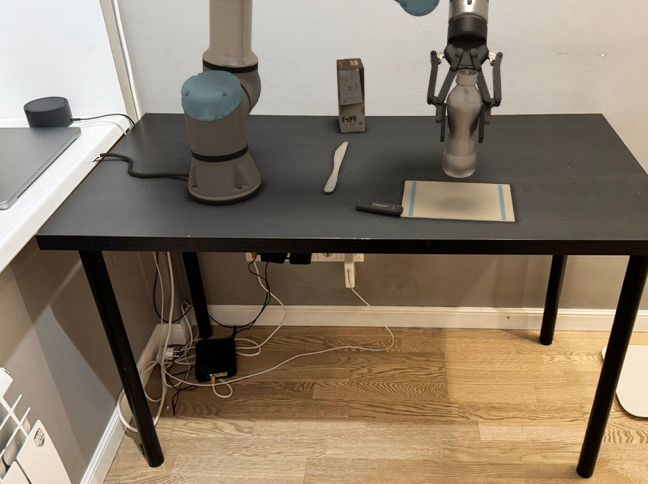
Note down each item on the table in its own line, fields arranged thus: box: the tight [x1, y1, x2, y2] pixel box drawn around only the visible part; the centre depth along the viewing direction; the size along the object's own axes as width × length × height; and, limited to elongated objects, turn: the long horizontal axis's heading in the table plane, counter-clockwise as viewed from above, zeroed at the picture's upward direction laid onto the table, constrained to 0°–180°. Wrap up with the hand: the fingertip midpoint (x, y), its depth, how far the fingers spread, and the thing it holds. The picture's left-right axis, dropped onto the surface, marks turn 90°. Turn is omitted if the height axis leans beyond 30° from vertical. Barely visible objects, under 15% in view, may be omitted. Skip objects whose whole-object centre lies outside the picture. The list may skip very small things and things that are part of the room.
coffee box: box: [335, 57, 366, 134], centre depth 163 cm, size 9×6×16 cm
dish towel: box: [399, 180, 516, 223], centre depth 132 cm, size 22×16×1 cm
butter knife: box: [323, 141, 349, 193], centre depth 146 cm, size 1×27×3 cm
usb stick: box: [355, 199, 403, 216], centre depth 128 cm, size 10×3×2 cm, turn 69°
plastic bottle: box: [441, 69, 483, 179], centre depth 121 cm, size 6×7×20 cm
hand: (461, 139), depth 119 cm, fingers closed on plastic bottle, 6 cm apart
